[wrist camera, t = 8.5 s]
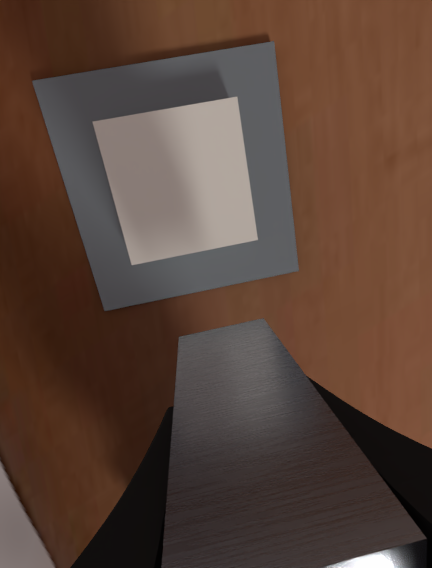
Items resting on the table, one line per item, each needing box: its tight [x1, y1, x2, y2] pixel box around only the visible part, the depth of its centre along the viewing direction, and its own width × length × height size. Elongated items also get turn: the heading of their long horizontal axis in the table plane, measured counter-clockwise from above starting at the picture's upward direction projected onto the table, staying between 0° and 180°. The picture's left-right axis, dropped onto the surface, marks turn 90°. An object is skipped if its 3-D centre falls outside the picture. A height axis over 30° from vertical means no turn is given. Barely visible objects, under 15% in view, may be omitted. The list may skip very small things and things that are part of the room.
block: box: [161, 318, 427, 568], centre depth 9 cm, size 4×4×9 cm
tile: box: [93, 97, 258, 265], centre depth 17 cm, size 2×8×8 cm
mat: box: [32, 41, 299, 311], centre depth 18 cm, size 14×14×1 cm
